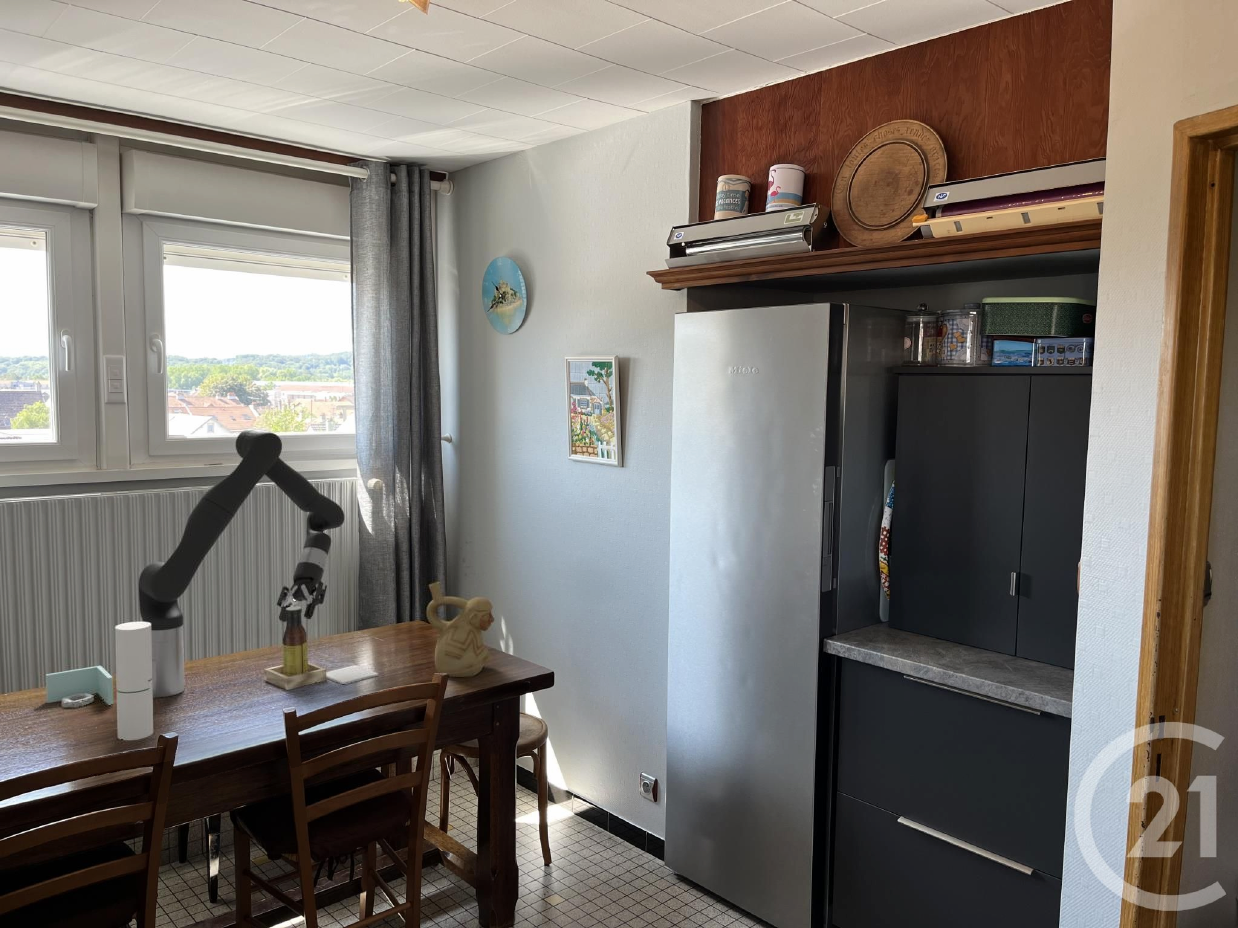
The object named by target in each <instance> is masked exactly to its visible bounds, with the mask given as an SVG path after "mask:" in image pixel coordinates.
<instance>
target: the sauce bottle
mask: <svg viewBox="0 0 1238 928" xmlns="http://www.w3.org/2000/svg"><path fill="white" fill-rule="evenodd" d="M302 612H303V611H302V607H301V606H297V605H296V606H295V605H293V606H292V607H288V608H286V615H287V621H286V622H285V623H286V626H285V630H284V633H283V636H282V661H283V662H282V663H283V664H282V665H283V666H284V675H285V676H288V677H291V676H295V675H299V674H303V673H307V672H308V662H309V661H308V660H309V656H308V654H309V653H308V640H307V639H308V638H307V631H306V629H305V627H304V626H303V624H302Z"/></svg>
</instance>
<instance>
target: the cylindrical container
mask: <svg viewBox="0 0 1238 928" xmlns="http://www.w3.org/2000/svg"><path fill="white" fill-rule="evenodd" d="M114 633H115V677H116V678H115V680H116V681H115V682H116V683H115V684H116V717H117V720H116V721H117V722H116V723H117V724H116V725H117V726H116V728H117V739H119V740H121V739H123V740H122V741H137V740H143V739H145V738H148V737H150V736H152V735H153V733H154V706H153V705H154V701H153V700H154V698H153V693H152V642H151V623H149V622H143V621H130V622H125V623H120V624H117V625H115V627H114Z"/></svg>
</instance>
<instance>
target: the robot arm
mask: <svg viewBox="0 0 1238 928" xmlns="http://www.w3.org/2000/svg"><path fill="white" fill-rule="evenodd" d="M235 449H236V453H237V454H238V456H239V457H240V458H241V459H242V460H241V461H240V462H239V464H238V465H237V466H236V468H235V469H234V470H233V471H231V473H229V475H227V476H226V477H224V478H223V479H222V480H220V481H219V482H218V483H217V482H216V483H215V485H213V486H211V487H210V488H209V489H208V490H207V491H206V492H205V493H204V494H203V495H202V497H201V498H200V499H199V501H198V502H197V504H196V505H195V506H194V508H193V510H192V511H191V513H190V515H189V517H188V519H187V521H186V525H185V527H184V531H183V534H182V537H181V540H180V542H179V544H178V545H177V547H176V548H175V550H174V551H173V552H172V554H171V555H170V557H169V558H168V559H167V560H166V561H165V562H163V561H155V562H153V563H150V564H149V565H146V566H145V567H144V568H143V570H142V571H141V572H140V575H139V577H138V602H139V603H138V604H139V614H140V617H141V620H142V622H149V623H151V642H152V693H153V699H154V698H162V697H163V698H165V697H171V696H175V695H178V694H180V693H183V692H184V691H185V653H184V652H185V651H184V647H185V645H184V615H183V612H182V610H181V609H180V606H179V603H178V599H179V598H181V597H182V595H183V594H184V593H185V591H186V590H187V588H188V587H189V585H190V584H191V582H192V580H193V578H194V576H195V575H196V572H198V569H199V568H200V566H201V563H202V562H203V561H204V559H205V557H206V556H207V554H208V553H210V550H211V549H212V548H213V546H214V545H215V543H216V542H217V541H218V539H219V538H220V536H221V535H222V534H223V532H224V531H225V530H226V529H227V527H228V525H229V524H230V523H231V521H232V519H233V518H234V517H235V515H236V514H237V512H238V511H239V509H240V508H241V506H242V505H243V503H244V502H245V501H246V500H247V498H248V497H249V495H250V493H252V491H253V489H254V488H255V487H256V485H257V484H258V483H259V482H260V481H261V480H262V479H263V477H264V476H266V477H267V478H268V479H270V481H272V482H273V483H274V484H275V485H276V486H277V487H278V488H279V489H280V490H281V491H282V492H283V493H284V494H285V495H286V496H287V497H288V498H289V500H291V501H292V502H293V504H294V505H295V506H297V508H299V510H301V511H302V512H304V513H308V514H307V517H306V538H305V542H304V545H303V549H302V551H301V553H300V554H299V558H298V561H297V564H296V567H295V570H294V573H293V577H292V580H293V583H292V585H291V586H289V587H287V586H286V585H284V586H282V589H281V591H280V594H279V596H278V599H277V601H276V602H277V603H276V606H277V607H279V608H281V609H280V612H279V615H278V619H279V621H280V622H282V623H286V622H287V615H286V608H288V607H294V606H295V605H296V606H297V604H299V602H303V601H305V602H306V601H307V604H306V607H305V611H304V614H303V617H304V618H305V619H306V620H311V619H312V617H313V615H314V614H315V610H316V607H318V605H323V604H324V601H325V597H326V593H327V592H326V591H327V588H328V585H327V584H326V583H324V582H323V581H322V578H323V577H324V572H325V569H326V566H327V565H326V564H327V561H328V560H327V559H328V556H329V552H330V548H331V545H332V538H331V536H330V535H329V534H327V533H325V532H324V531H327V530H333V529H337V528H340V527H341V526H342V525H343V524H344V522H345V513H344V510H343V508H342V507H341V506H340V505H339V504H338V503H337V502H335V501H333V500H332V499H331V498H330V497H327V496H326V495H324V494H322V493H320V492H319V491H318V489H317V488H316V487H314V485H313V484H312V483H311V482H310V481H309V480H308V479H307V478H305V477H304V475H302V474H301V473H300V472H298V471H297V470H295V469H294V468H293V467H291V466H290V465H288V464H287V463H286V462H285V461H284V460H282V459H281V458H280V456H281V454H282V450H283V443H282V440H281V437H280V436H279V435H277V434H275V433H274V432H271V431H267V430H263V429H258V428H249V429H248V428H247V429H245V430H242V431H241V432H240V433H239V434H238V435H237V437H236V440H235Z"/></svg>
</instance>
